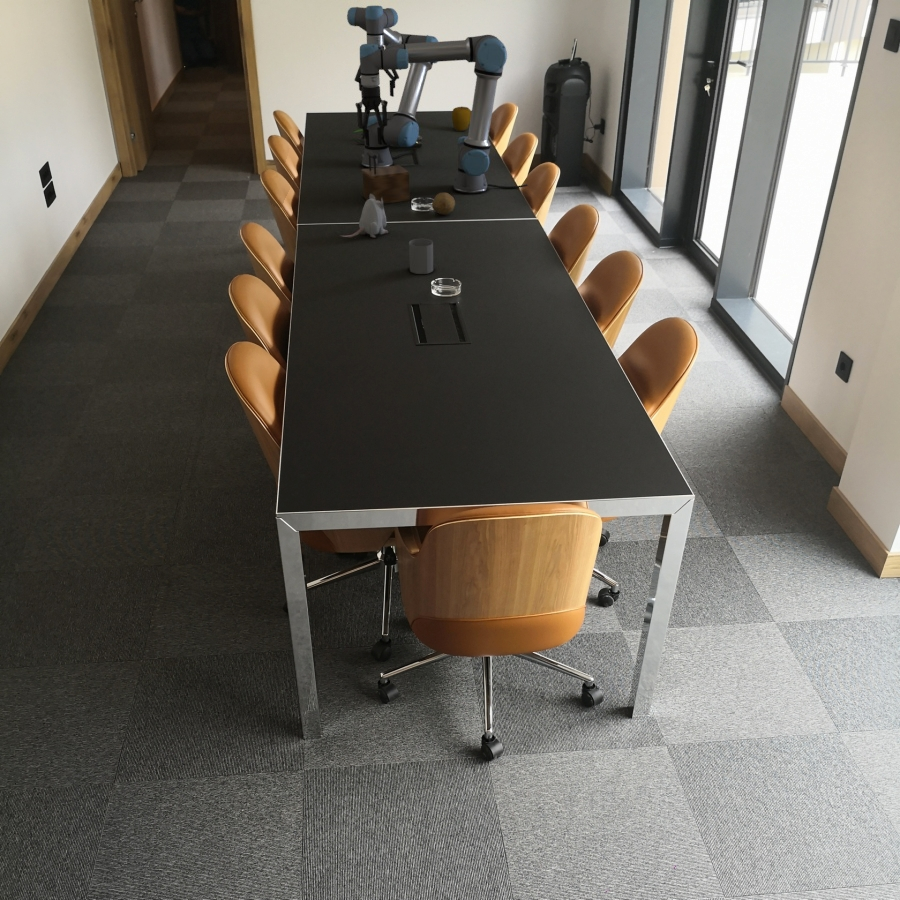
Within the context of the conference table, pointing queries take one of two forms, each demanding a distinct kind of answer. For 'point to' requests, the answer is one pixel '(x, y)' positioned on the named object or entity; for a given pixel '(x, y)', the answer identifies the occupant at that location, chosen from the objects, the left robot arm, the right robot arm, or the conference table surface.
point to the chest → (387, 188)
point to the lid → (382, 169)
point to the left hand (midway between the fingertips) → (377, 97)
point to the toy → (372, 218)
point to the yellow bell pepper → (461, 118)
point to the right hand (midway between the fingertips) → (373, 144)
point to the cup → (421, 256)
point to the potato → (443, 203)
